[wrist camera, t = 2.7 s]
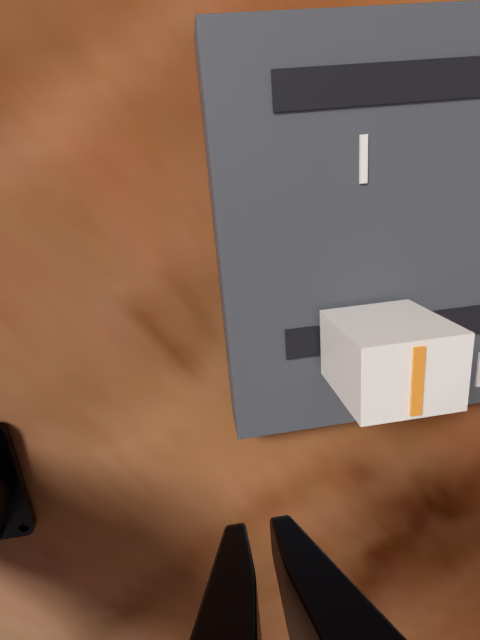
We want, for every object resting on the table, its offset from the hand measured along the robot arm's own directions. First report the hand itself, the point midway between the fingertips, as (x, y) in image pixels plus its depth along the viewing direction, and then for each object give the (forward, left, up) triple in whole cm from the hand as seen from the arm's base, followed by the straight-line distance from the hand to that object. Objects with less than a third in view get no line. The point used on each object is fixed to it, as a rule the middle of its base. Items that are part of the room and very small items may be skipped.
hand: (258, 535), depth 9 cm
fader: (0, -6, -10) cm, 12 cm away
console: (+4, -12, -12) cm, 18 cm away
